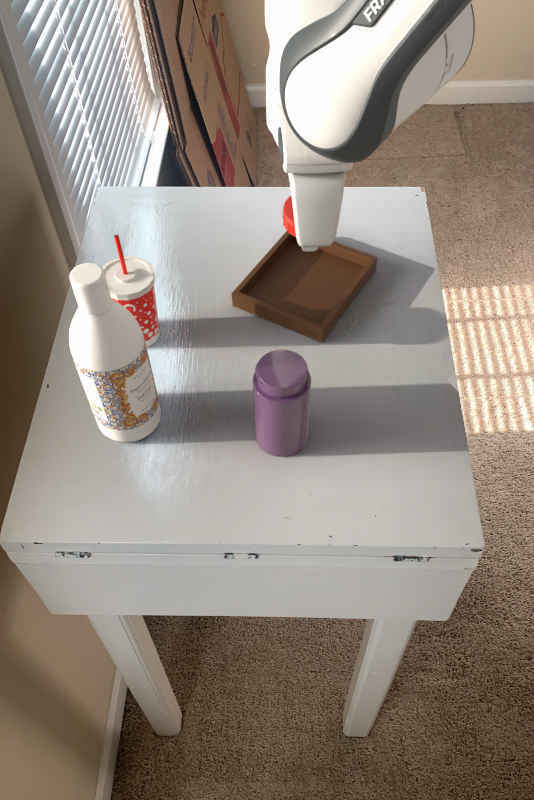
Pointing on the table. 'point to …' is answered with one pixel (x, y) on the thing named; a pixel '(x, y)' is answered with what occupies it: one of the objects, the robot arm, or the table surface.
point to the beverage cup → (134, 290)
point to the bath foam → (112, 359)
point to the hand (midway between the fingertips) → (307, 226)
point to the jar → (281, 402)
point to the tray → (304, 285)
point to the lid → (289, 217)
